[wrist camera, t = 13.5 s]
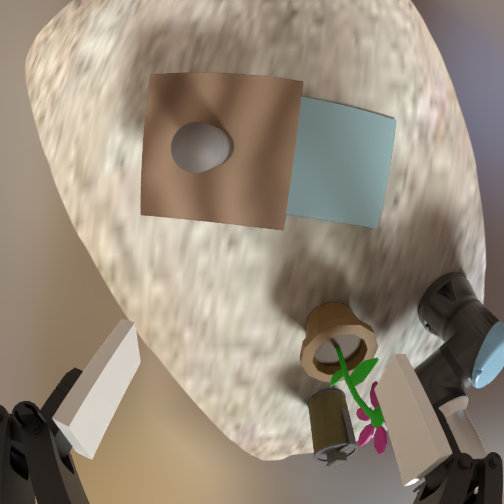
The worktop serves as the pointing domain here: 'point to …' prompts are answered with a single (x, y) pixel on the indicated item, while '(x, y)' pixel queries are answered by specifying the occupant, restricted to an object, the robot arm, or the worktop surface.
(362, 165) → the mat
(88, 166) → the worktop surface
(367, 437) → the flowerpot
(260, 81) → the lid
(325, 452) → the canister
